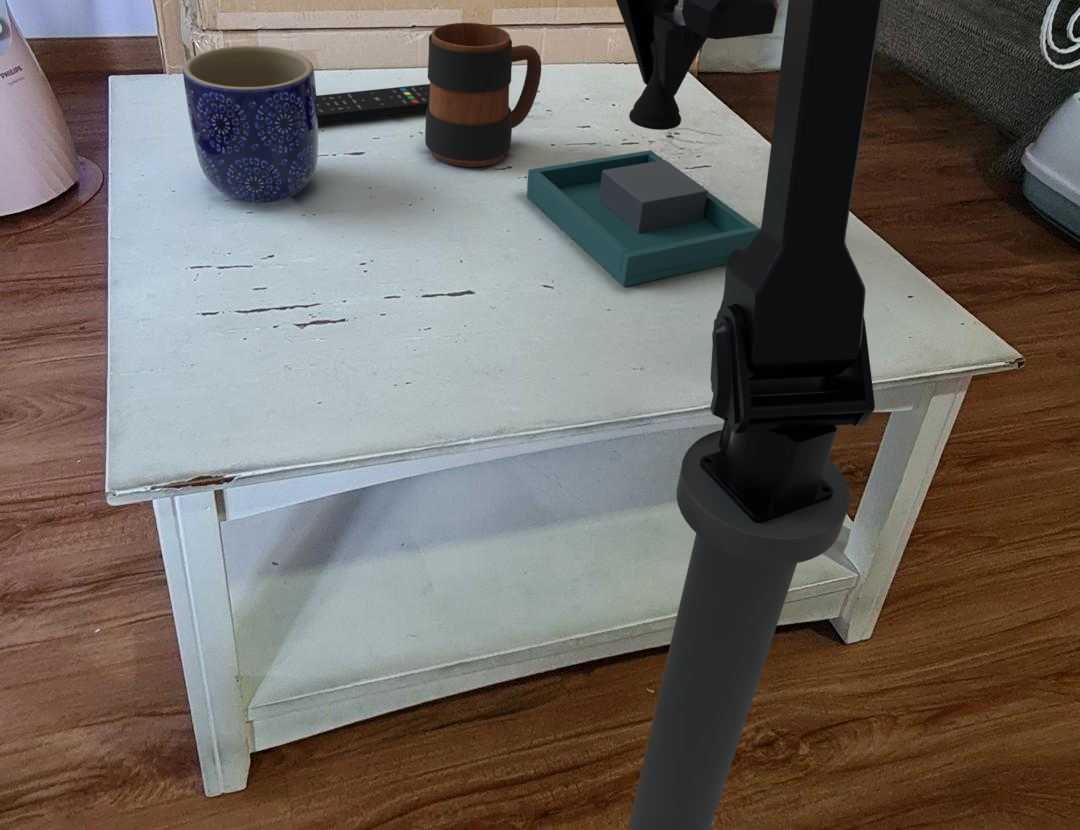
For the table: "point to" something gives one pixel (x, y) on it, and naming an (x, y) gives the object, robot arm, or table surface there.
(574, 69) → the table surface
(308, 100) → the planter
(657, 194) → the block
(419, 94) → the remote control
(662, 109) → the chess piece
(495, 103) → the mug
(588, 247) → the tray
